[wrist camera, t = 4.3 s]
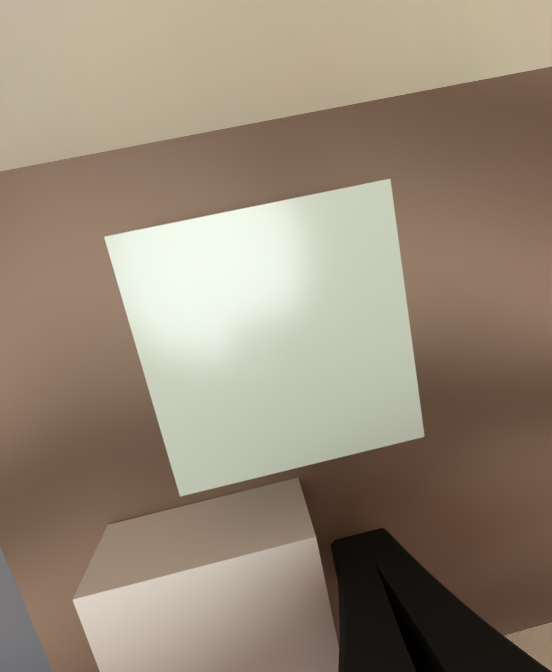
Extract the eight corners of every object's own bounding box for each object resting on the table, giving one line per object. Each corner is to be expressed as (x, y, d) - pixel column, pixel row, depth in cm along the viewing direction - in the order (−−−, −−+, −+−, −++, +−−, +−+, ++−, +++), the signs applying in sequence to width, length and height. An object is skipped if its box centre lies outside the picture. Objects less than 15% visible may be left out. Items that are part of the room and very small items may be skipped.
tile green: (383, 397, 9) (424, 436, 7) (192, 443, 9) (180, 496, 7) (352, 198, 8) (390, 178, 6) (137, 242, 8) (103, 236, 6)
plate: (530, 559, 13) (583, 613, 11) (111, 671, 12) (86, 751, 10) (497, 103, 10) (561, 64, 8) (-64, 212, 9) (-146, 199, 7)
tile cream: (330, 628, 10) (353, 717, 8) (159, 675, 10) (140, 779, 8) (297, 477, 9) (315, 536, 7) (108, 524, 9) (72, 600, 7)
